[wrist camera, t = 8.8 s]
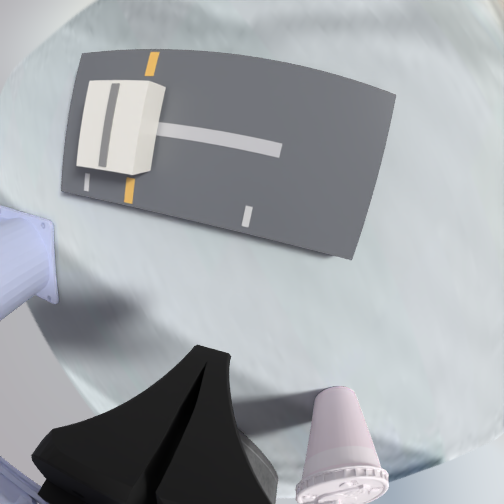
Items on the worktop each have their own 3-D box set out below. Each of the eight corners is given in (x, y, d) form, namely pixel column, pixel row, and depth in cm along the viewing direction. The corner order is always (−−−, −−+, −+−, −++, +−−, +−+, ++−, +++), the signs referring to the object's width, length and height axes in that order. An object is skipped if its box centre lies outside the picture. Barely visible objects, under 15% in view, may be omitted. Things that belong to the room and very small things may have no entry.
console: (73, 187, 19) (60, 191, 18) (94, 57, 16) (81, 53, 14) (347, 251, 18) (351, 260, 17) (388, 98, 15) (396, 94, 13)
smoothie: (283, 404, 24) (268, 552, 11) (336, 362, 21) (352, 534, 8) (334, 429, 24) (338, 559, 11) (385, 393, 22) (415, 535, 9)
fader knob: (96, 162, 16) (75, 165, 14) (109, 85, 15) (88, 80, 13) (150, 170, 16) (131, 175, 14) (165, 87, 14) (148, 80, 12)
